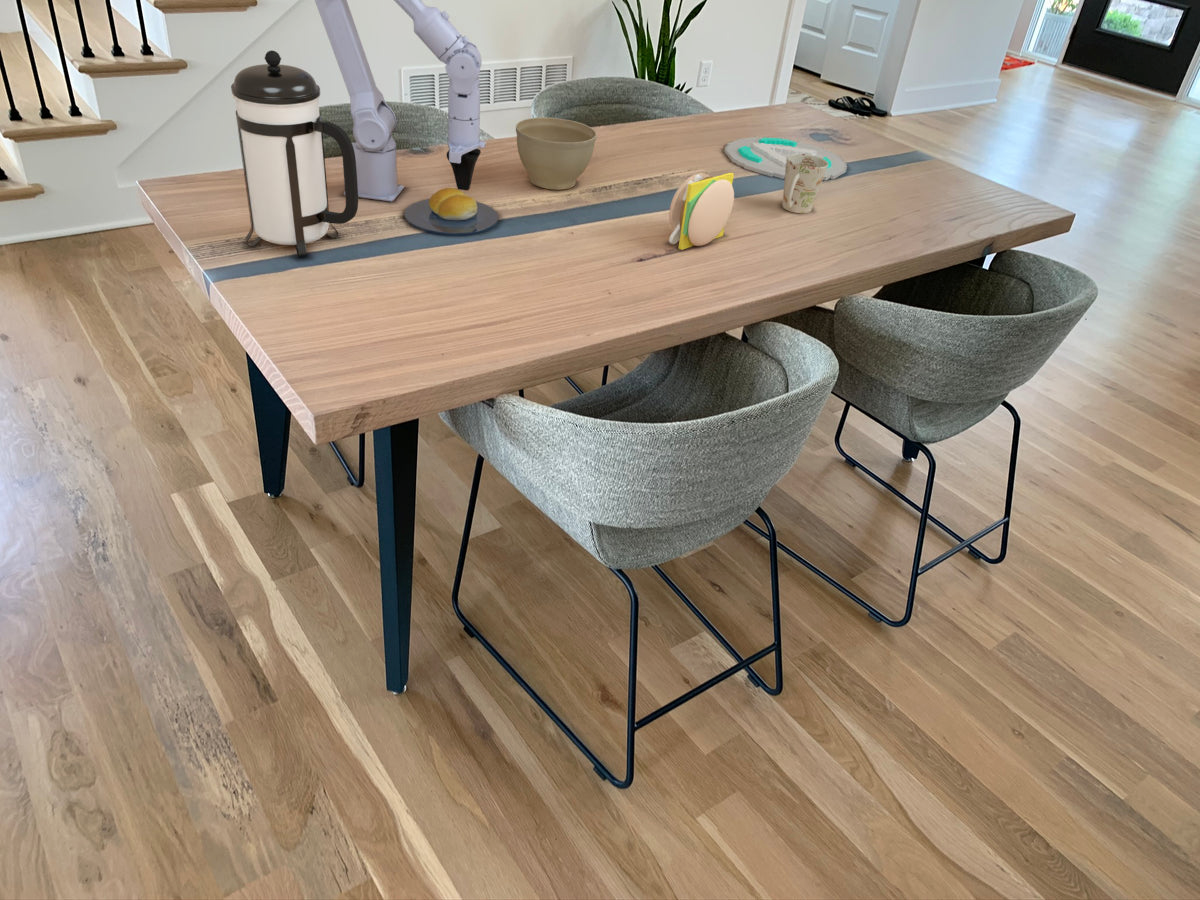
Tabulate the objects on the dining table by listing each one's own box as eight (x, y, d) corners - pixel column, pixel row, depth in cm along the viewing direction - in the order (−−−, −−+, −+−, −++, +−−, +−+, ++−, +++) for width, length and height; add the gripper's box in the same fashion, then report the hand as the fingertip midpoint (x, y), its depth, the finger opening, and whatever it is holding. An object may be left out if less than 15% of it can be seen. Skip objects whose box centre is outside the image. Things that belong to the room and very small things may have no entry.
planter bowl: (576, 202, 177) (580, 147, 171) (501, 186, 181) (502, 131, 174) (602, 179, 190) (607, 126, 184) (531, 163, 193) (534, 112, 187)
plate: (392, 228, 159) (392, 225, 159) (419, 195, 173) (419, 192, 172) (487, 241, 158) (487, 238, 158) (506, 206, 172) (506, 204, 172)
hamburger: (698, 225, 174) (708, 163, 167) (732, 240, 169) (743, 177, 162) (657, 238, 167) (665, 174, 160) (690, 254, 162) (701, 189, 155)
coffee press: (251, 266, 142) (223, 65, 124) (241, 226, 153) (213, 38, 136) (362, 257, 148) (350, 65, 131) (344, 219, 160) (331, 39, 142)
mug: (820, 207, 189) (832, 159, 183) (805, 225, 179) (817, 176, 173) (782, 197, 191) (793, 150, 185) (766, 215, 182) (776, 166, 176)
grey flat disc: (760, 133, 228) (761, 126, 227) (862, 162, 216) (864, 156, 215) (704, 156, 209) (705, 149, 208) (813, 189, 197) (815, 182, 196)
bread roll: (449, 225, 161) (448, 203, 159) (422, 208, 166) (421, 187, 164) (487, 217, 166) (487, 196, 163) (460, 200, 171) (460, 180, 169)
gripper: (476, 130, 158) (475, 204, 166) (493, 108, 170) (492, 178, 178) (437, 125, 158) (438, 199, 166) (456, 103, 170) (456, 174, 178)
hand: (463, 188), depth 172 cm, fingers closed
